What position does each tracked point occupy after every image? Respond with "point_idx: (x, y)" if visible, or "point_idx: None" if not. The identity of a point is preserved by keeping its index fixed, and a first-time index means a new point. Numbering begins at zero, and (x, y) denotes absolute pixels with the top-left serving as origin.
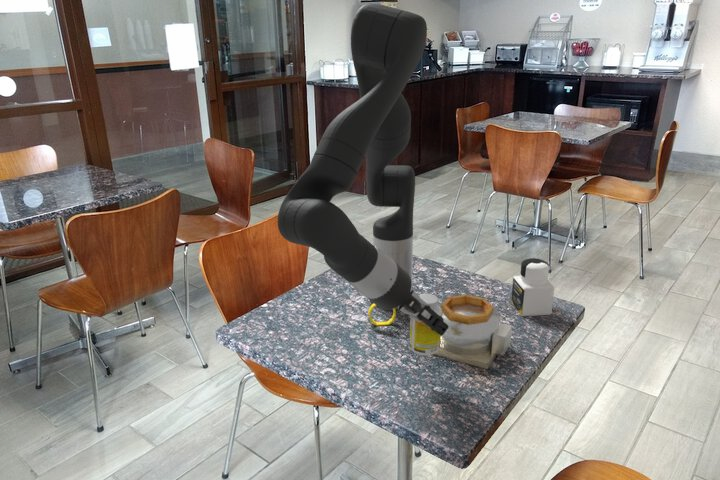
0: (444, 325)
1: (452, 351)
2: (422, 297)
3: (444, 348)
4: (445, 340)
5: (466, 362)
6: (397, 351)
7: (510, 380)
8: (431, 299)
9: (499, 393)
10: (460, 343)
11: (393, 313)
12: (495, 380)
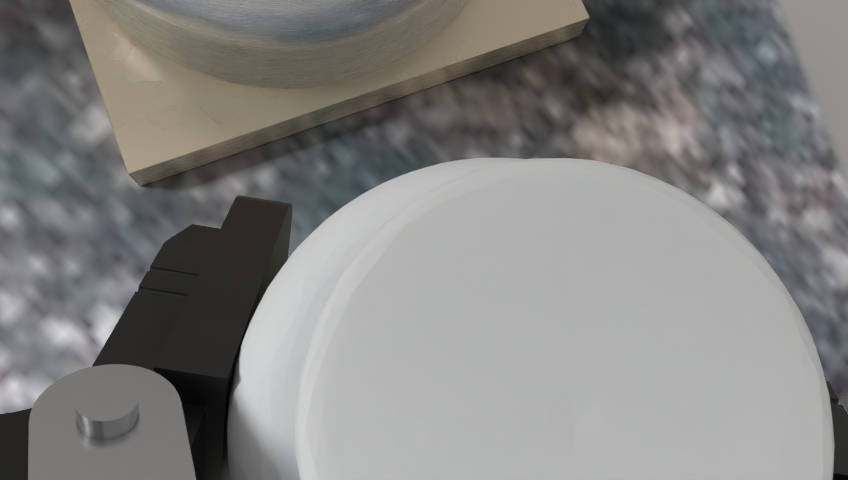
0: (835, 399)
1: (352, 76)
2: (476, 475)
3: (285, 86)
4: (284, 55)
5: (454, 75)
6: (26, 318)
7: (732, 30)
8: (681, 371)
9: (784, 173)
10: (405, 19)
11: None
12: (683, 91)
